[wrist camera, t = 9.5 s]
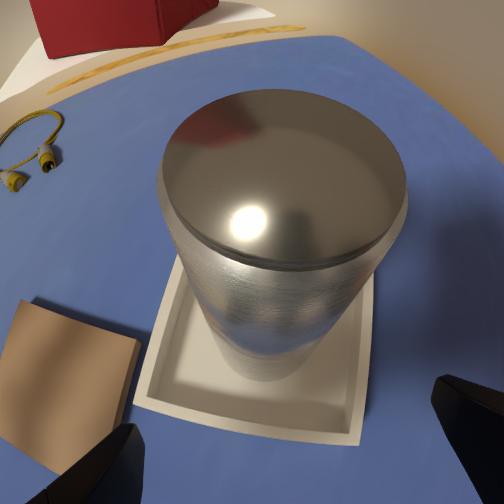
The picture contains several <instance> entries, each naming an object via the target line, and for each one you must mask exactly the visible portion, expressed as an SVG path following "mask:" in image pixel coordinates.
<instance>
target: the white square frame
mask: <svg viewBox="0 0 504 504" xmlns="http://www.w3.org/2000/svg"><path fill="white" fill-rule="evenodd" d="M373 279H374V272H373V274H372V275H371V276H370V278H369V279H368V281H367V282H366V283H365V285H364V286H363V288H362V289H361V290H360V292H359V293H358V294H357V296H356V297H355V298H354V300H353V301H352V302H351V304H350V305H349V306H348V308H347V309H346V310H345V312H344V313H343V314H342V316H341V317H340V318H339V319H338V321H337V322H336V323H335V325H334V326H333V327H332V328H331V330H330V331H329V332H328V333H327V335H326V336H325V337H324V338H323V340H322V341H321V342H320V343H319V345H318V346H317V347H316V348H315V349H314V351H313V352H312V353H311V354H310V355H309V357H308V358H307V359H306V360H305V361H304V362H303V364H302V365H301V366H300V367H299V368H298V369H297V370H296V371H295V372H293V373H292V374H290V375H289V376H287V377H285V378H283V379H280V380H276V381H271V382H258V381H253V380H249V379H247V378H244V377H242V376H240V375H239V374H237V373H236V372H235V371H233V370H232V369H231V368H230V367H229V366H228V365H227V363H226V362H225V361H224V359H223V357H222V355H221V353H220V351H219V349H218V346H217V344H216V342H215V340H214V338H213V335H212V333H211V331H210V329H209V326H208V324H207V322H206V320H205V317H204V315H203V313H202V310H201V308H200V306H199V303H198V301H197V299H196V296H195V294H194V292H193V289H192V287H191V284H190V282H189V280H188V277H187V275H186V272H185V270H184V267H183V265H182V262H181V260H180V257H179V255H178V254H177V257H176V260H175V263H174V266H173V269H172V272H171V275H170V278H169V281H168V284H167V287H166V290H165V293H164V296H163V300H162V303H161V306H160V309H159V312H158V316H157V319H156V322H155V325H154V329H153V332H152V335H151V339H150V342H149V346H148V349H147V353H146V356H145V360H144V363H143V367H142V370H141V374H140V378H139V382H138V385H137V389H136V393H135V397H134V401H133V404H134V405H137V406H140V407H143V408H146V409H149V410H153V411H156V412H159V413H162V414H166V415H169V416H173V417H176V418H180V419H184V420H187V421H191V422H195V423H199V424H203V425H207V426H212V427H216V428H221V429H225V430H230V431H235V432H240V433H245V434H251V435H257V436H263V437H269V438H276V439H283V440H291V441H299V442H308V443H319V444H332V445H349V446H359V442H360V436H361V430H362V423H363V416H364V409H365V401H366V393H367V384H368V374H369V363H370V350H371V336H372V317H373Z"/></svg>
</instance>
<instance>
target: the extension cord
mask: <svg viewBox="0 0 504 504" xmlns="http://www.w3.org/2000/svg"><path fill="white" fill-rule="evenodd" d="M37 113H39V114H37ZM34 114H36V115H34ZM44 114H51V115H54V116H55V117H56V118H57V119H58V120H59V125H58V127H57V128H56V129H55V131H54V132H53V133H52V134H51V135H50V137H49V138H48V139H47V140H46V141H45V143H43V144H41V146H40V147H39V148H38V151H37V152H36V153H35V154H34V155H33V156H31V157H30V158H28V159H27V160H25V161H23V162H22V163H20V164H18V165H16V166H14V167H11V168H9V169H7V170H3V171H0V180H1V181H2V182H3V183H4V184H5V185H6V187H8V188H9V191H10V192H12V191H15V192H18V190H19V189H20V188H21V187H22V186H23V185H24V183H25V182H26V181H27V178H25V177H23V176H21V175H19V174H18V173H16V172H14V171H11V170H13V169H15V168H17V167H19V166H21V165H23V164H25V163H27V162H28V161H30V160H32V159H33V158H34V157H36V156H37V155H38V159H39V164H40V165H41V167H42V171H43V172H44V173H48V169H47V165H49V164H50V165H51V168H54V169H55V168H56V165H55V156H54V153H53V151H52V149H51V148H50V147H49V145H50V144H51V143H53V142H54V140H55V139H56V138H57V136H58V135H57V136H55V137H54V138H53V139H52V140H51V141H50V139H51V138H52V137H53V136H54V135H55V133H56V132H57V131H58V130H59V128H60V127H61V125H62V118H61V116H60V115H59V114H58V113H57V112H55V111H52V110H40V111H36V112H33V113H31V114H29V115H27V116H25V117H23V118H22V119H20V120H19V121H17V122H16V123H15V124H13V125H12V126H11V127H10V128H9V129H8V130H7V131H6V132H5V133H4V134H3V135H2V136H1V137H0V141H1V139H2V138H3V137H4V136H5V135H6V134H7V133H8V132H9V131H10V130H11V129H12V128H13V127H14V126H15V125H16V126H15V127H14V128H13V129H12V130H11V131H10V132H9V133H8V134H7V135H6V136H5V137H4V138H3V140H2V141H1V142H0V146H1V144H2V143H3V141H4V140H5V139H6V138H7V137H8V135H9V134H10V133H11V132H12V131H13V130H15V129H16V128H17V127H18V126H20V125H21V124H22V123H24V122H26V121H28V120H30V119H32V118H34V117H37V116H40V115H44ZM31 115H34V116H31ZM29 116H31V117H29ZM27 117H29V118H27ZM25 118H27V119H25ZM24 119H25V120H24ZM22 120H24V121H22ZM21 121H22V122H21ZM19 122H20V123H19ZM18 123H19V124H18ZM17 124H18V125H17Z"/></svg>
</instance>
